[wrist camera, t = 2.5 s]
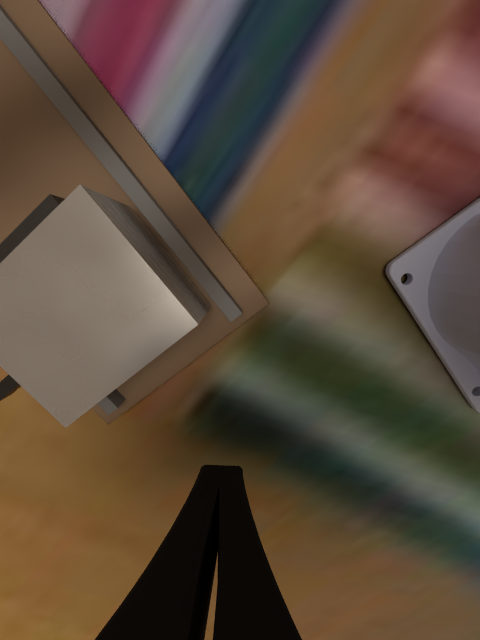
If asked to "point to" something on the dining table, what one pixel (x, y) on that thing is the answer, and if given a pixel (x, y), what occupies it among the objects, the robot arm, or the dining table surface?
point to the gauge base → (104, 180)
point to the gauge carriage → (87, 302)
